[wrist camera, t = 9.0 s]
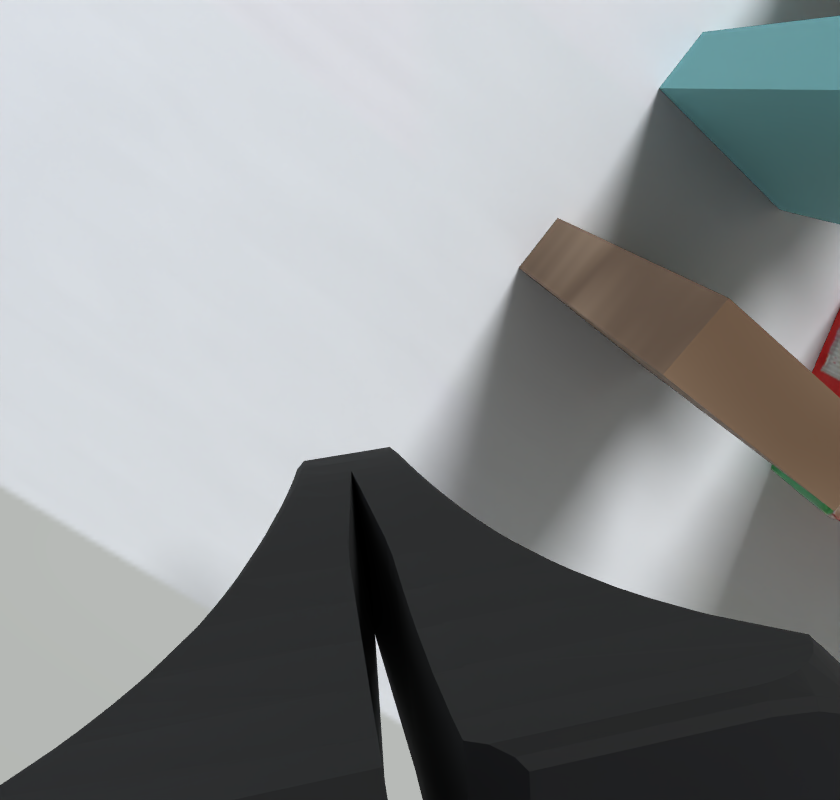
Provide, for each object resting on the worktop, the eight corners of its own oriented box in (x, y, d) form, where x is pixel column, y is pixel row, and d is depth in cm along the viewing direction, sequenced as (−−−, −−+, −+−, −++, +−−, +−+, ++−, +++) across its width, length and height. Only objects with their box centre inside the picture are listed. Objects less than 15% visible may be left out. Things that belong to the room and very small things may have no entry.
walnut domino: (645, 367, 22) (834, 511, 14) (518, 267, 20) (662, 374, 12) (682, 323, 21) (895, 448, 14) (557, 217, 19) (728, 298, 12)
